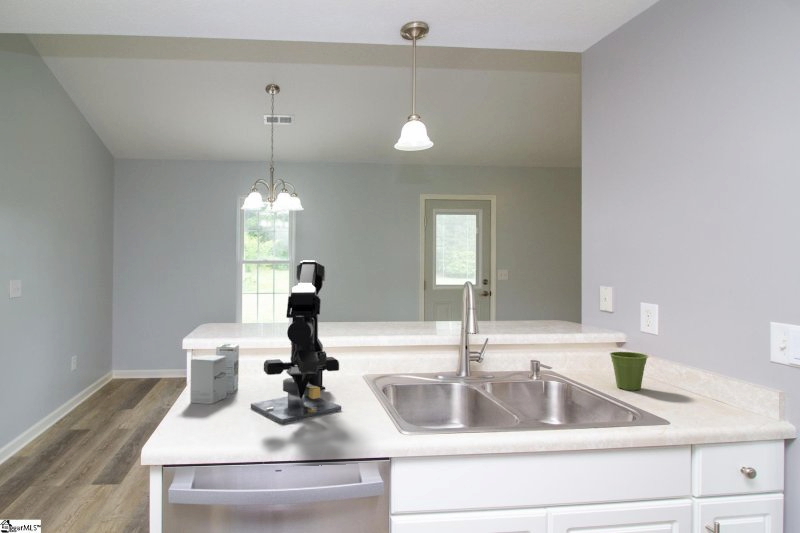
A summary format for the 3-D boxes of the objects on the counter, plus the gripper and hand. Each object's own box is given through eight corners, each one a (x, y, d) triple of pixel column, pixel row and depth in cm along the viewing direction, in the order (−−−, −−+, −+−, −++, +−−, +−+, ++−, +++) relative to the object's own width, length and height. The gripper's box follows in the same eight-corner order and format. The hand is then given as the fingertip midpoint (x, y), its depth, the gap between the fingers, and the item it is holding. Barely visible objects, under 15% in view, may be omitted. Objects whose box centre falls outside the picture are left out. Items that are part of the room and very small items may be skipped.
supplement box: (212, 404, 139) (213, 360, 139) (189, 402, 141) (189, 359, 141) (227, 397, 147) (227, 355, 146) (204, 396, 148) (205, 354, 148)
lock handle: (278, 388, 136) (278, 379, 136) (301, 385, 141) (301, 376, 141) (304, 400, 125) (304, 390, 125) (328, 396, 130) (328, 386, 130)
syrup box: (219, 389, 156) (220, 343, 156) (238, 389, 157) (239, 343, 156) (214, 394, 150) (215, 346, 150) (234, 393, 151) (234, 346, 151)
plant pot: (636, 383, 169) (637, 351, 169) (655, 393, 157) (656, 357, 157) (602, 383, 169) (603, 351, 169) (619, 392, 157) (619, 357, 157)
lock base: (306, 396, 149) (307, 379, 149) (341, 410, 135) (341, 391, 135) (250, 407, 137) (250, 389, 136) (282, 424, 123) (282, 403, 123)
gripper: (272, 344, 117) (270, 410, 117) (347, 342, 125) (344, 403, 125) (264, 338, 127) (262, 398, 127) (333, 336, 135) (331, 392, 135)
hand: (300, 398), depth 128 cm, fingers closed
